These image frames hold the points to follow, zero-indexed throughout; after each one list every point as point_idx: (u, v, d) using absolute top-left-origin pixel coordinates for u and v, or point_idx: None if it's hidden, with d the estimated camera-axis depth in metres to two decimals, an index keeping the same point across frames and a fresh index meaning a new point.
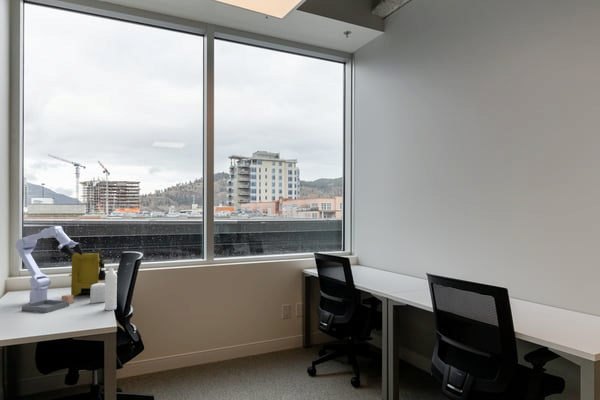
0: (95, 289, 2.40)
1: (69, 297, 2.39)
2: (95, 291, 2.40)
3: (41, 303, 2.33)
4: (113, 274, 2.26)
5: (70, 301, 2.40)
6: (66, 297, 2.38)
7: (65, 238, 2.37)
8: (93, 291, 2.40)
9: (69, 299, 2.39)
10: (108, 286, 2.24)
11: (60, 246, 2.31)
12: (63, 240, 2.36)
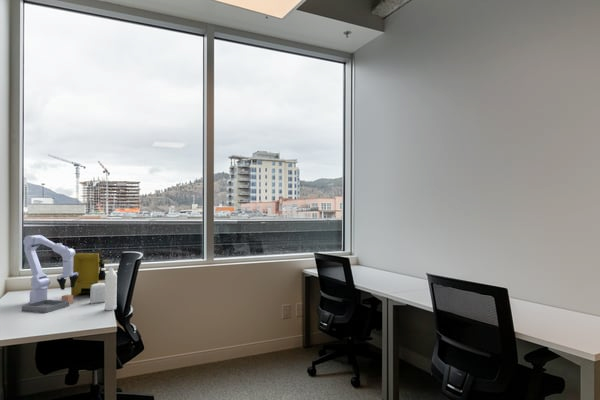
0: (95, 289, 2.40)
1: (69, 297, 2.39)
2: (95, 291, 2.40)
3: (41, 303, 2.33)
4: (113, 274, 2.26)
5: (70, 301, 2.40)
6: (66, 297, 2.38)
7: (69, 269, 2.39)
8: (93, 291, 2.40)
9: (69, 299, 2.39)
10: (108, 286, 2.24)
11: (59, 278, 2.34)
12: (66, 270, 2.38)
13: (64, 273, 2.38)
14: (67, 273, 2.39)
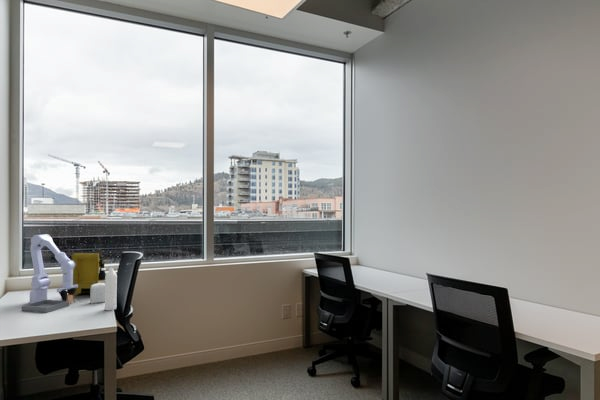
0: (95, 289, 2.40)
1: (69, 297, 2.39)
2: (95, 291, 2.40)
3: (41, 303, 2.33)
4: (113, 274, 2.26)
5: (70, 301, 2.40)
6: None
7: (69, 281, 2.39)
8: (93, 291, 2.40)
9: (69, 299, 2.39)
10: (108, 286, 2.24)
11: (58, 291, 2.34)
12: (66, 282, 2.38)
13: (64, 286, 2.38)
14: (67, 286, 2.38)
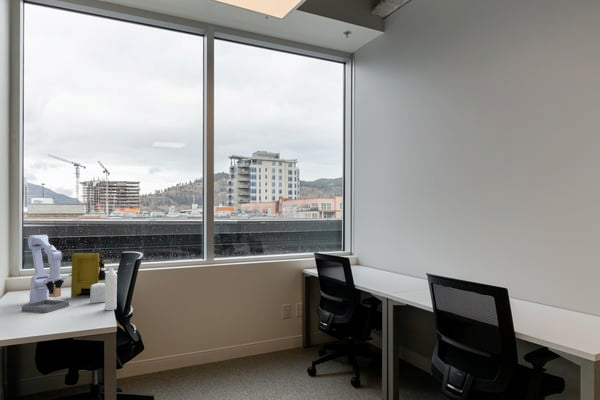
0: (95, 289, 2.40)
1: (57, 290, 2.31)
2: (95, 291, 2.40)
3: (41, 303, 2.33)
4: (113, 274, 2.26)
5: (58, 294, 2.32)
6: (53, 290, 2.30)
7: (56, 273, 2.31)
8: (93, 291, 2.40)
9: (57, 292, 2.31)
10: (108, 286, 2.24)
11: (45, 282, 2.25)
12: (53, 274, 2.30)
13: (51, 277, 2.30)
14: (54, 277, 2.30)
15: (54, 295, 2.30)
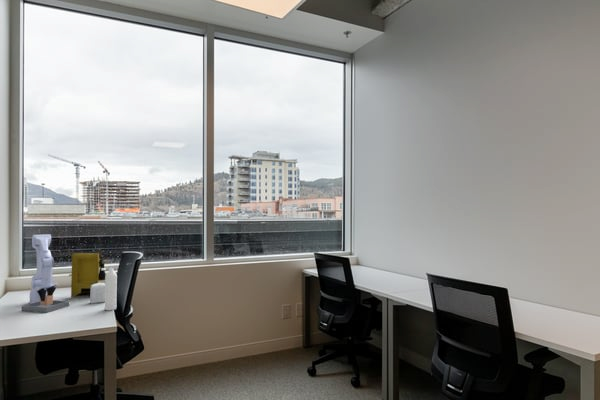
0: (95, 289, 2.40)
1: (48, 298, 2.26)
2: (95, 291, 2.40)
3: None
4: (113, 274, 2.26)
5: (50, 302, 2.27)
6: (45, 298, 2.25)
7: (47, 280, 2.26)
8: (93, 291, 2.40)
9: (48, 300, 2.26)
10: (108, 286, 2.24)
11: (36, 289, 2.20)
12: (44, 281, 2.25)
13: (42, 284, 2.25)
14: (45, 284, 2.25)
15: (46, 303, 2.25)
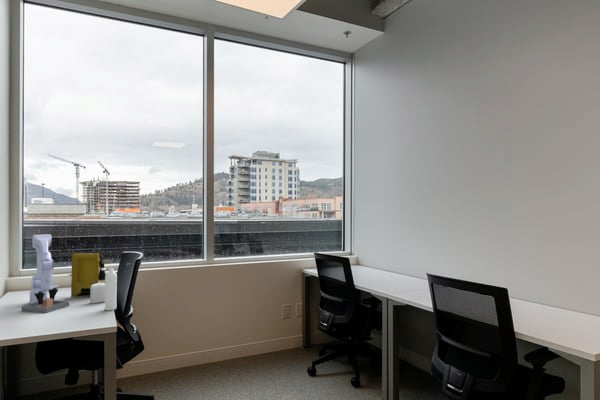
0: (95, 289, 2.40)
1: (48, 301, 2.26)
2: (95, 291, 2.40)
3: None
4: (113, 274, 2.26)
5: (49, 305, 2.27)
6: (45, 301, 2.25)
7: (47, 282, 2.26)
8: (93, 291, 2.40)
9: (48, 303, 2.26)
10: (108, 286, 2.24)
11: (36, 292, 2.20)
12: (44, 283, 2.25)
13: (42, 287, 2.25)
14: (45, 287, 2.25)
15: (46, 306, 2.25)
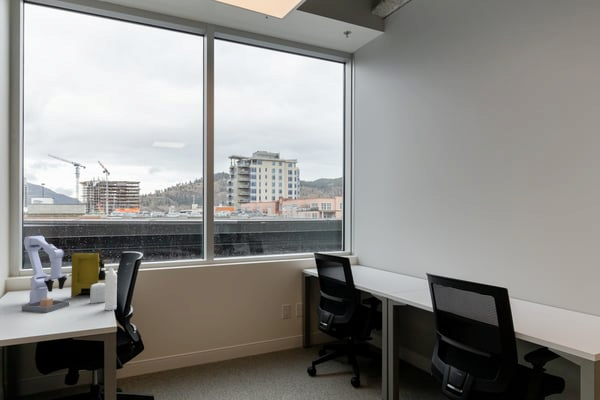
0: (95, 289, 2.40)
1: (48, 301, 2.26)
2: (95, 291, 2.40)
3: None
4: (113, 274, 2.26)
5: (49, 305, 2.27)
6: (45, 301, 2.25)
7: (57, 270, 2.34)
8: (93, 291, 2.40)
9: (48, 303, 2.26)
10: (108, 286, 2.24)
11: (46, 279, 2.28)
12: (54, 271, 2.33)
13: (52, 275, 2.33)
14: (55, 275, 2.33)
15: (46, 306, 2.25)
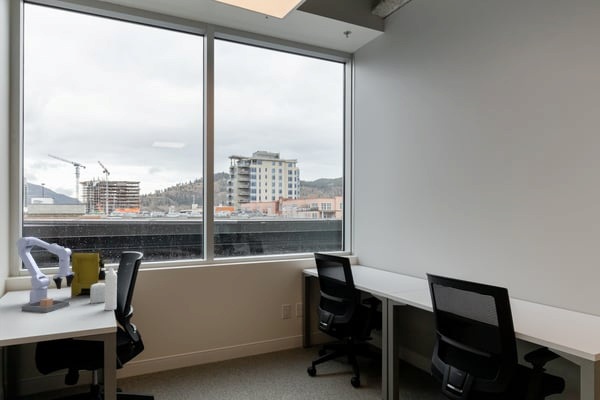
0: (95, 289, 2.40)
1: (48, 301, 2.26)
2: (95, 291, 2.40)
3: None
4: (113, 274, 2.26)
5: (49, 305, 2.27)
6: (45, 301, 2.25)
7: (65, 268, 2.41)
8: (93, 291, 2.40)
9: (48, 303, 2.26)
10: (108, 286, 2.24)
11: (55, 277, 2.36)
12: (62, 269, 2.40)
13: (60, 273, 2.40)
14: (63, 273, 2.40)
15: (46, 306, 2.25)
